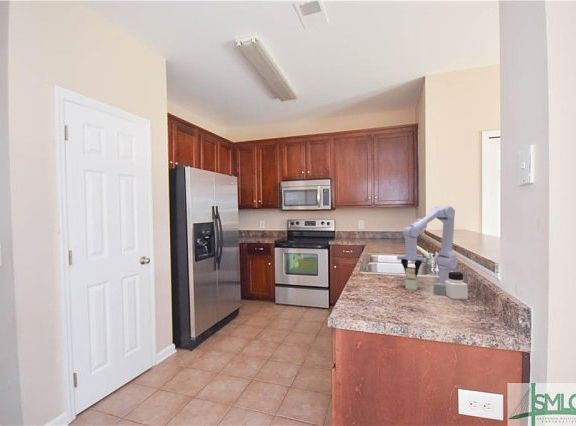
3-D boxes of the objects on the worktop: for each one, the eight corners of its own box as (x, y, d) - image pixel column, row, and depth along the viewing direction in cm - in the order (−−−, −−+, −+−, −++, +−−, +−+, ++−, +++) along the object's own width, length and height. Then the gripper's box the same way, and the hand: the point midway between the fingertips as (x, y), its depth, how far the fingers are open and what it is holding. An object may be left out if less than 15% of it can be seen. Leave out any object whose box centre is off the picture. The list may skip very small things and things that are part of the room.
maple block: (408, 276, 154) (408, 266, 154) (417, 277, 151) (416, 267, 151) (405, 277, 150) (405, 268, 150) (414, 278, 147) (414, 269, 147)
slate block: (433, 292, 143) (433, 282, 143) (443, 293, 141) (443, 283, 141) (434, 294, 139) (434, 284, 139) (444, 295, 137) (444, 285, 137)
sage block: (408, 286, 154) (408, 277, 154) (417, 288, 151) (417, 278, 151) (405, 288, 150) (405, 279, 150) (415, 290, 147) (415, 280, 147)
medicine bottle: (468, 299, 131) (467, 273, 131) (452, 299, 131) (452, 273, 131) (459, 294, 138) (458, 270, 138) (444, 294, 138) (444, 270, 138)
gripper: (394, 248, 152) (395, 273, 152) (423, 250, 143) (424, 277, 143) (399, 247, 158) (399, 271, 158) (427, 249, 149) (427, 274, 149)
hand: (411, 274), depth 151 cm, fingers closed on maple block, 4 cm apart
